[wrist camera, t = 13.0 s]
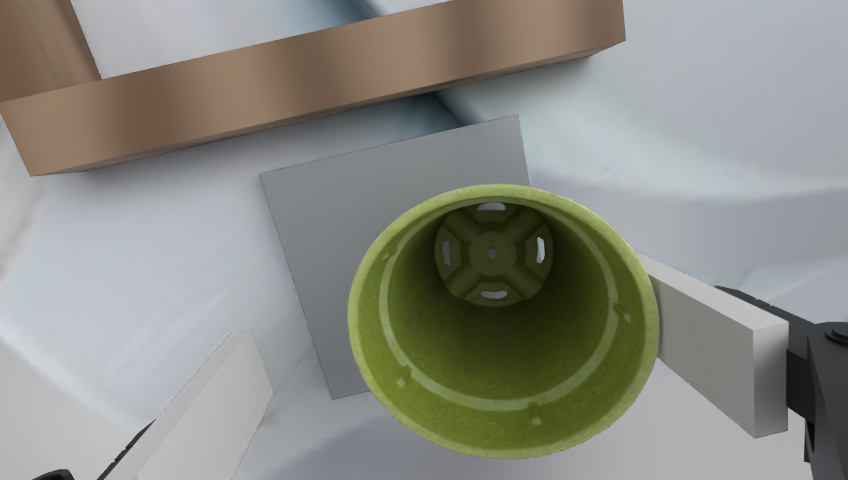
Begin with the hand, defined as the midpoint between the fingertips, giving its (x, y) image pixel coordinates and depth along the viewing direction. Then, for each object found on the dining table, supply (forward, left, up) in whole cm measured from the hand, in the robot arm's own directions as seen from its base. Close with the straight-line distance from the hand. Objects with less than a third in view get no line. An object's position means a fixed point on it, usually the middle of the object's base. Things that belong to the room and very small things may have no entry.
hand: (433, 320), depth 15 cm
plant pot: (-4, 0, -6) cm, 7 cm away
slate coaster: (0, 0, -8) cm, 8 cm away
